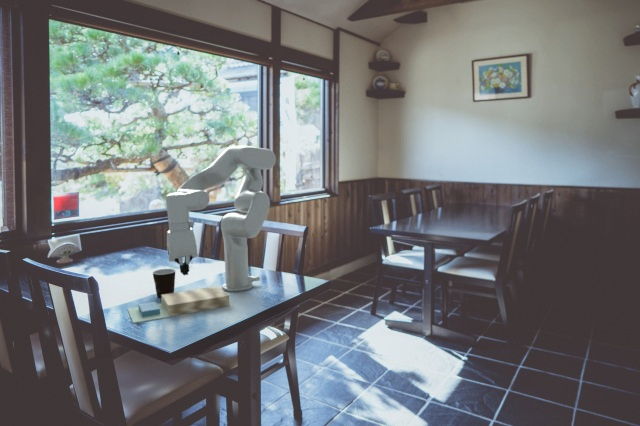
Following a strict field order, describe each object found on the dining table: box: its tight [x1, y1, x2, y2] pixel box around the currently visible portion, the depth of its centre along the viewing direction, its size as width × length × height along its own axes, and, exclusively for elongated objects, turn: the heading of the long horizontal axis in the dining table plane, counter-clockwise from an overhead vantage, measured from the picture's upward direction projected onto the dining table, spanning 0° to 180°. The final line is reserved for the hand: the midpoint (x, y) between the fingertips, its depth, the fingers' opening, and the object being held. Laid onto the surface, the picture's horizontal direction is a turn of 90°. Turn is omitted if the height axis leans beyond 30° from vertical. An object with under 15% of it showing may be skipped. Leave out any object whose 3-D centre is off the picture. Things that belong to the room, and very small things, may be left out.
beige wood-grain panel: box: [160, 285, 230, 317], centre depth 182 cm, size 22×14×4 cm, turn 118°
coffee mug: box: [152, 268, 176, 299], centre depth 195 cm, size 12×9×10 cm
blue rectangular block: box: [137, 301, 160, 317], centre depth 175 cm, size 6×9×2 cm, turn 28°
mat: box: [127, 302, 171, 324], centre depth 175 cm, size 12×16×1 cm
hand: (185, 274), depth 182 cm, fingers closed
